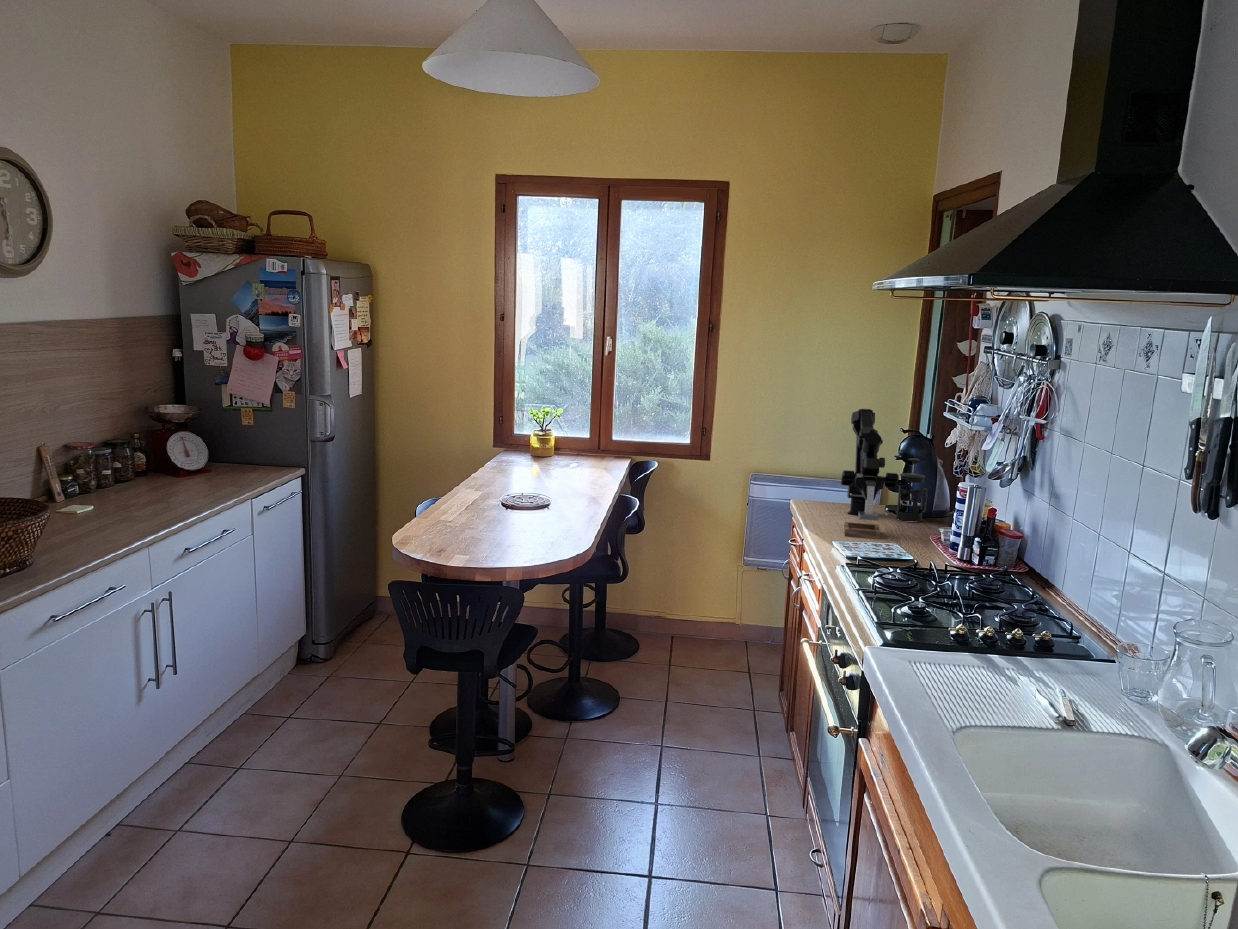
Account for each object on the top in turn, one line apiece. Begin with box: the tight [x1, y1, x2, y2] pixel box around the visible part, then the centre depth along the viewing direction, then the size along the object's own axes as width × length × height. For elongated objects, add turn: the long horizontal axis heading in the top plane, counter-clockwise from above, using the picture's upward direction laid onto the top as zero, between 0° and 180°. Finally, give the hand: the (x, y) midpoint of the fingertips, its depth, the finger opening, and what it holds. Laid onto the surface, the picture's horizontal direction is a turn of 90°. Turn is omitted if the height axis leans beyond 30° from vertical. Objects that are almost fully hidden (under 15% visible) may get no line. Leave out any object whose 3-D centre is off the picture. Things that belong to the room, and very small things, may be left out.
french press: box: [895, 457, 930, 522], centre depth 322 cm, size 12×9×23 cm
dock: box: [843, 521, 881, 540], centre depth 299 cm, size 11×11×2 cm
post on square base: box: [857, 479, 879, 521], centre depth 297 cm, size 6×6×13 cm
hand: (870, 499), depth 295 cm, fingers closed on post on square base, 2 cm apart
